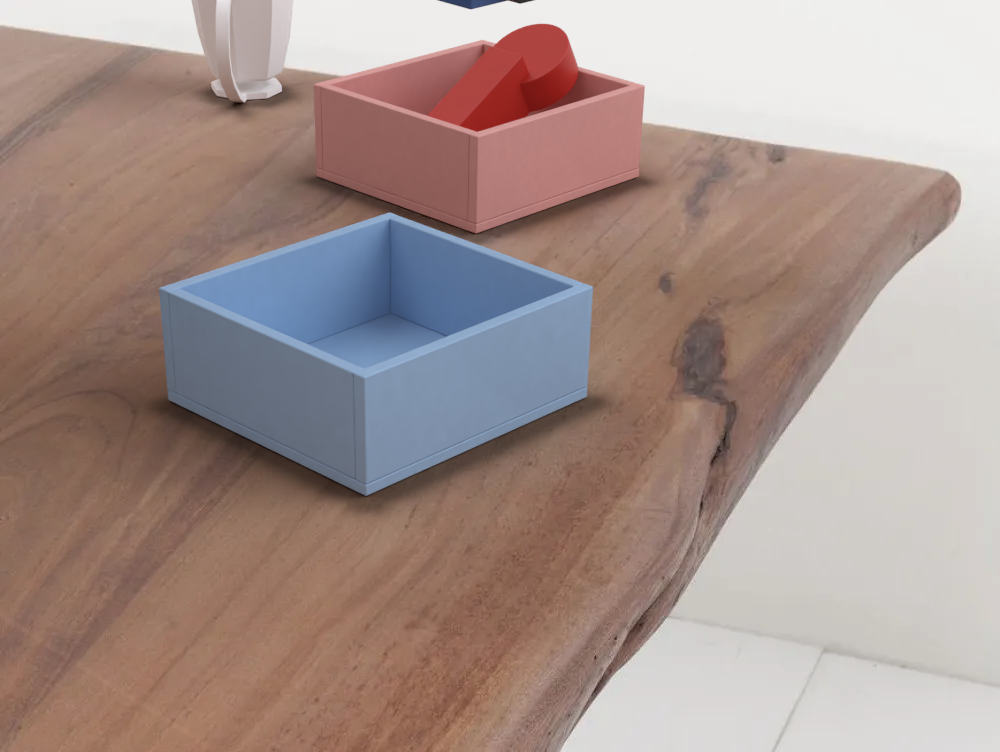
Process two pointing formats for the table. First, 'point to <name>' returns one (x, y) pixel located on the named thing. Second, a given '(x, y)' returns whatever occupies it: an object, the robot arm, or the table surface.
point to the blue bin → (376, 348)
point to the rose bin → (472, 142)
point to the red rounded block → (512, 79)
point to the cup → (244, 45)
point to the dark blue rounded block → (472, 3)
